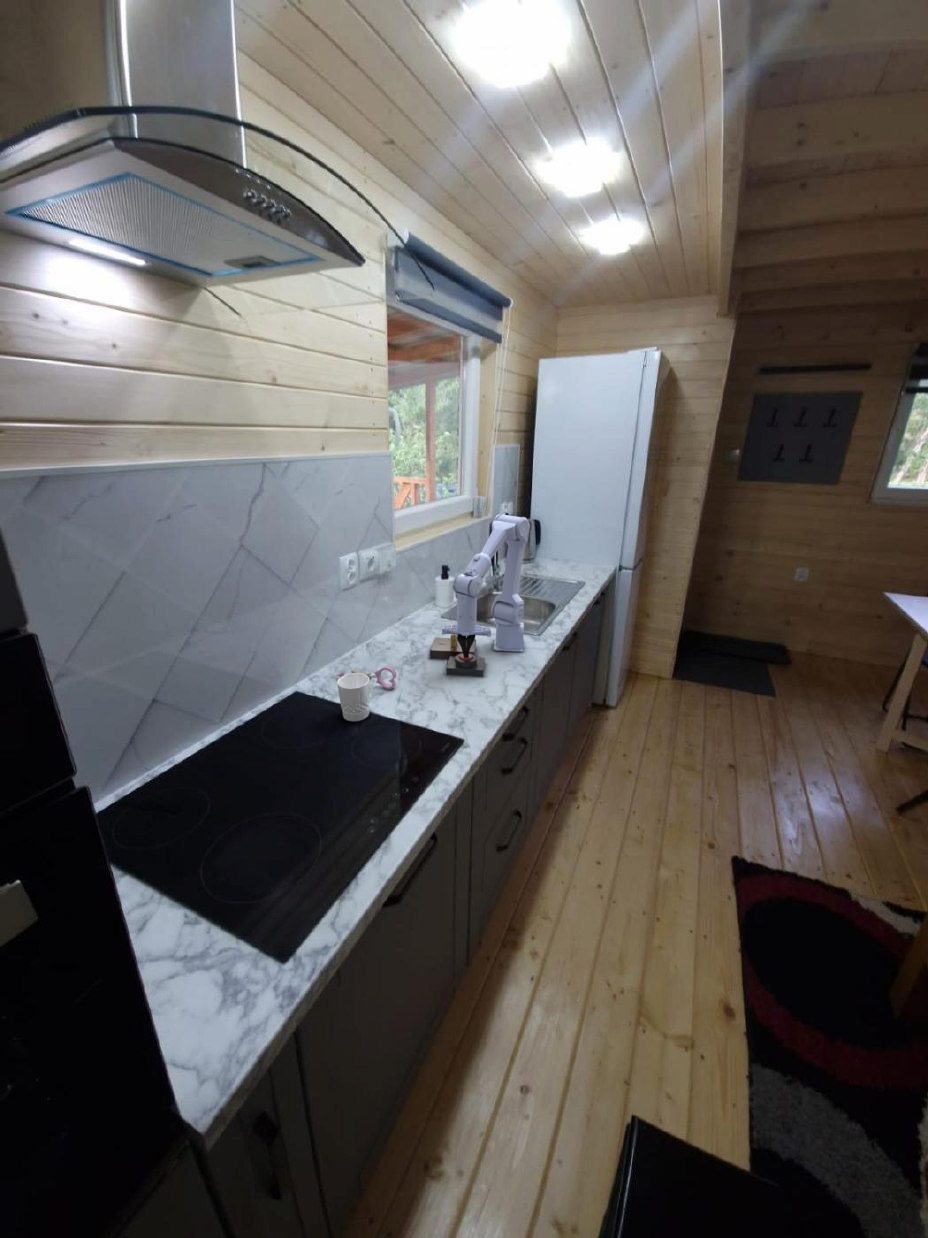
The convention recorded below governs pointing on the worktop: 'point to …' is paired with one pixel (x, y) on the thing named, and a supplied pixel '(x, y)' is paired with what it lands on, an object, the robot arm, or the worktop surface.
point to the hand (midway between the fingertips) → (466, 656)
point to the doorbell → (465, 666)
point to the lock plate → (447, 648)
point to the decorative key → (378, 676)
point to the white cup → (354, 696)
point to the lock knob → (453, 640)
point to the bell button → (466, 658)
